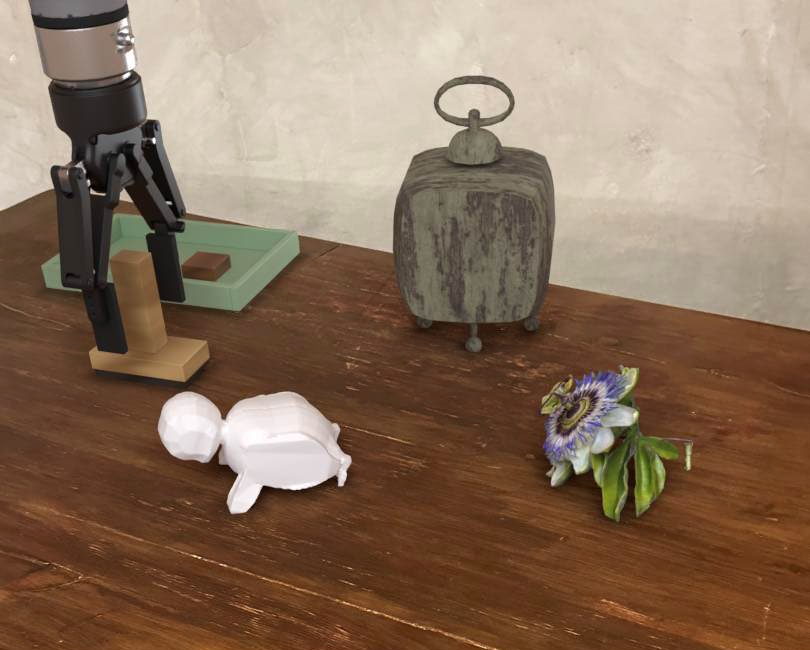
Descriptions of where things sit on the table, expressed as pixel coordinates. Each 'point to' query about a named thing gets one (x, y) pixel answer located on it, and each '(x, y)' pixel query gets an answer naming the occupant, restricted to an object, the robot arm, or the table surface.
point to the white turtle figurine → (256, 442)
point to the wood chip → (206, 266)
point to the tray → (247, 246)
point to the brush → (147, 331)
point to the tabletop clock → (475, 227)
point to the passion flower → (605, 439)
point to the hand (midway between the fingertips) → (143, 324)
